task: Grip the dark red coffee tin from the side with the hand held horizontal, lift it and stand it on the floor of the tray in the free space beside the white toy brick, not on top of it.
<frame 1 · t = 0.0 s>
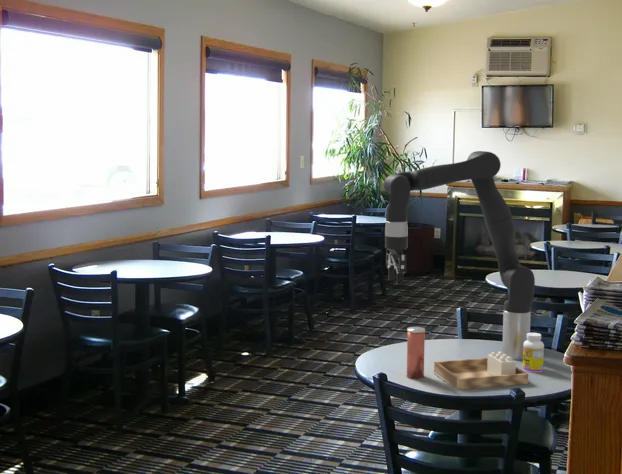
hand: (395, 282, 272), 29 cm above the table, tool pointing down, fingers open, 8 cm apart
white toy brick: (501, 375, 263), point 1 cm above the table, touching tray
tray: (479, 379, 261), on the table
coffee tin: (415, 376, 265), on the table
supplement bottle: (532, 372, 270), on the table
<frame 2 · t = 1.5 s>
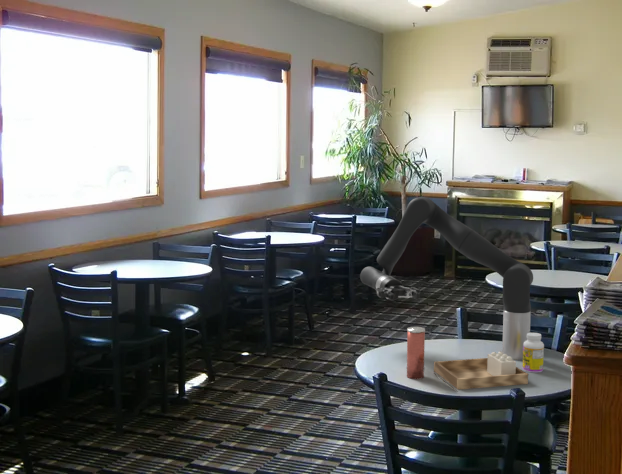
hand: (405, 297, 272), 24 cm above the table, tool horizontal, fingers open, 8 cm apart
nothing on the table moved.
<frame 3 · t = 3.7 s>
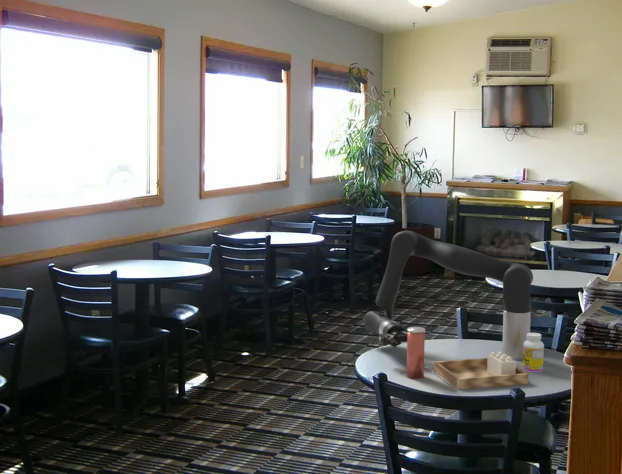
hand: (407, 343, 271), 9 cm above the table, tool horizontal, fingers open, 8 cm apart
nothing on the table moved.
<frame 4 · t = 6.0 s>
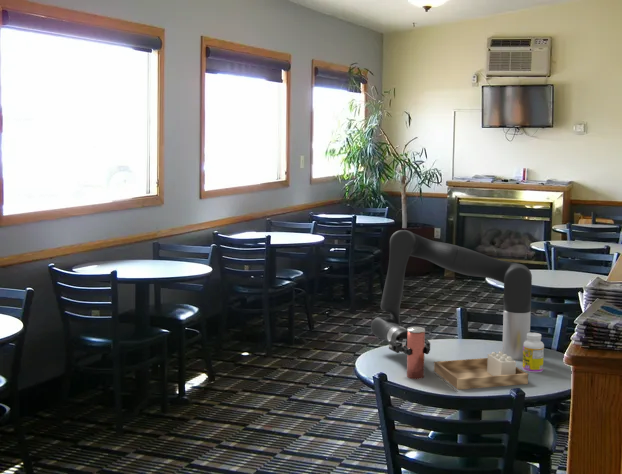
hand: (418, 351, 261), 9 cm above the table, tool horizontal, fingers closed on coffee tin, 5 cm apart
coffee tin: (415, 376, 265), on the table, touching gripper
everything else where it was.
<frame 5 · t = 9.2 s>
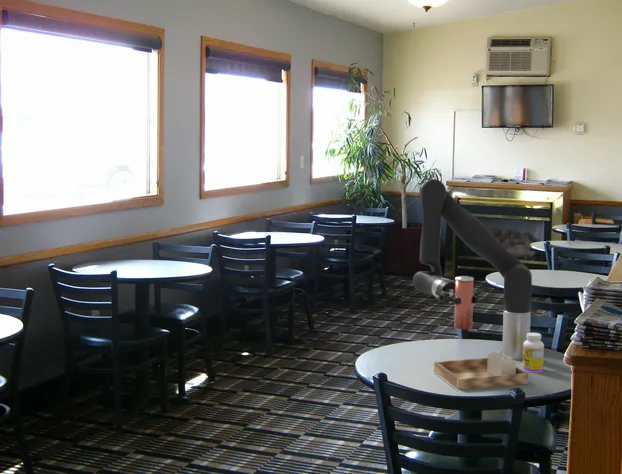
hand: (467, 301, 254), 27 cm above the table, tool horizontal, fingers closed on coffee tin, 5 cm apart
coffee tin: (463, 327, 258), point 18 cm above the table, touching gripper
everything else where it was.
when the fingers open (10 cm above the table, at t = 12.8 s): coffee tin stays where it is, resting on tray.
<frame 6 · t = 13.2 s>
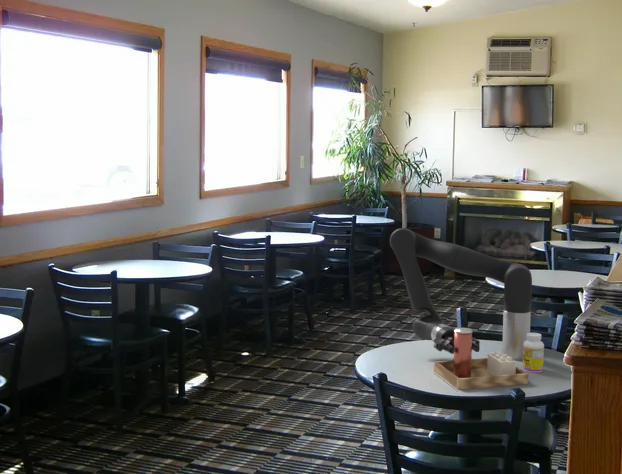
hand: (465, 349, 257), 11 cm above the table, tool horizontal, fingers open, 8 cm apart
coffee tin: (462, 378, 260), point 1 cm above the table, touching tray
everything else where it was.
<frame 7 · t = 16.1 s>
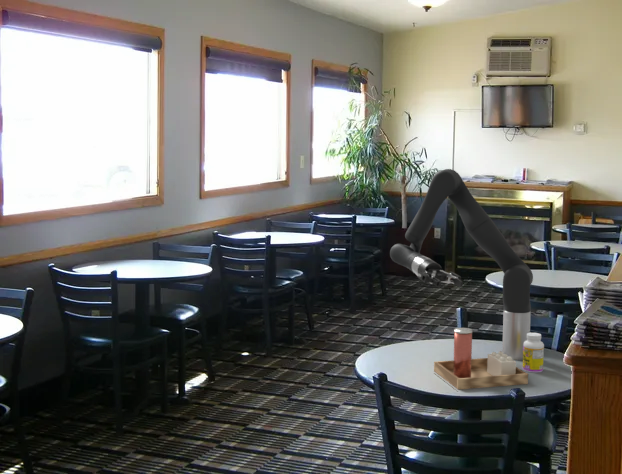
hand: (450, 284, 271), 29 cm above the table, tool horizontal, fingers open, 8 cm apart
nothing on the table moved.
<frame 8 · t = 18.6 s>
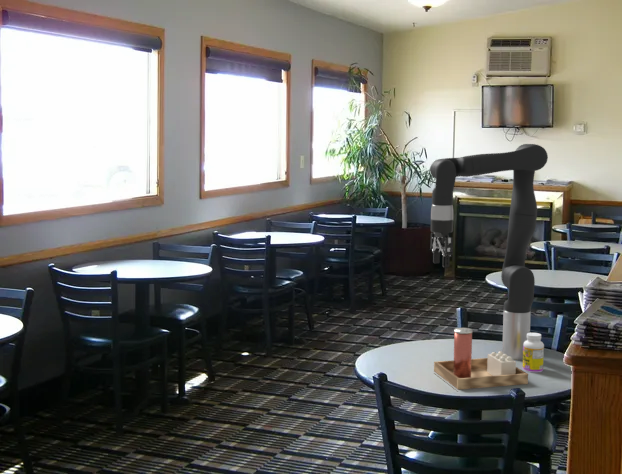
hand: (441, 265, 277), 34 cm above the table, tool pointing down, fingers open, 8 cm apart
nothing on the table moved.
at the end: coffee tin inside the target area on the tray (0.1 cm from its centre), point 0.8 cm above the tray's base; coffee tin tilted 0°; white toy brick moved 0.0 cm from its start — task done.
